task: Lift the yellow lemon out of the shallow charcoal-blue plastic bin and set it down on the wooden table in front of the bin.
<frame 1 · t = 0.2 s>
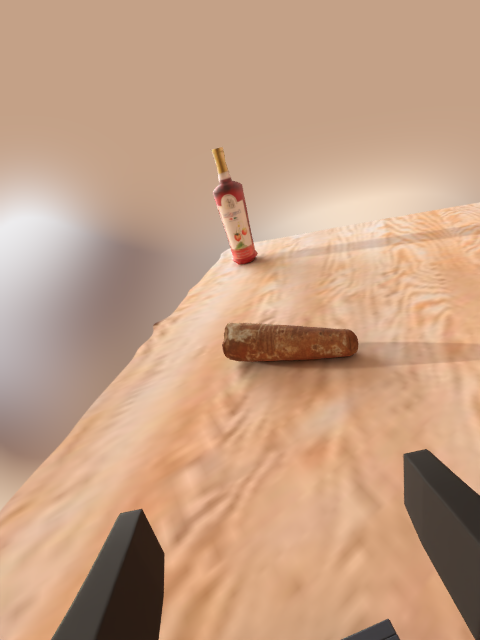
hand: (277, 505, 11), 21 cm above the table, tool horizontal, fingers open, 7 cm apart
liquor: (246, 261, 101), on the table
brown cylinder: (292, 355, 56), on the table
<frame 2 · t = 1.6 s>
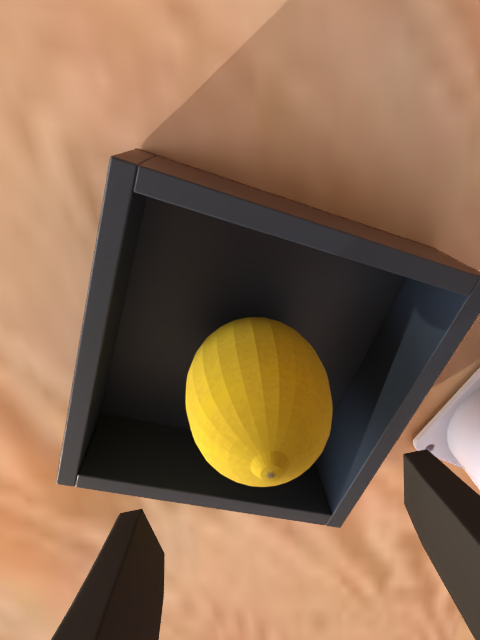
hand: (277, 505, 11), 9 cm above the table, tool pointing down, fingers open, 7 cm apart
bin: (246, 338, 19), on the table
lemon: (247, 340, 19), resting on bin
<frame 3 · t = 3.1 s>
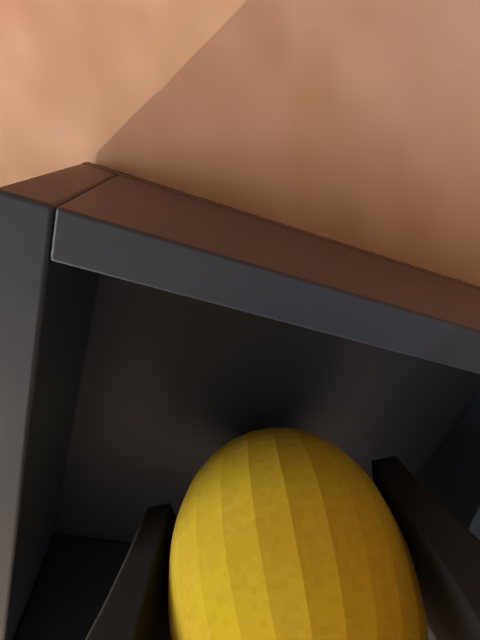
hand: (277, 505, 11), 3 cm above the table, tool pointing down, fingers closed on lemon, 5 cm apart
bin: (263, 433, 13), on the table
lemon: (264, 437, 13), resting on bin, touching gripper
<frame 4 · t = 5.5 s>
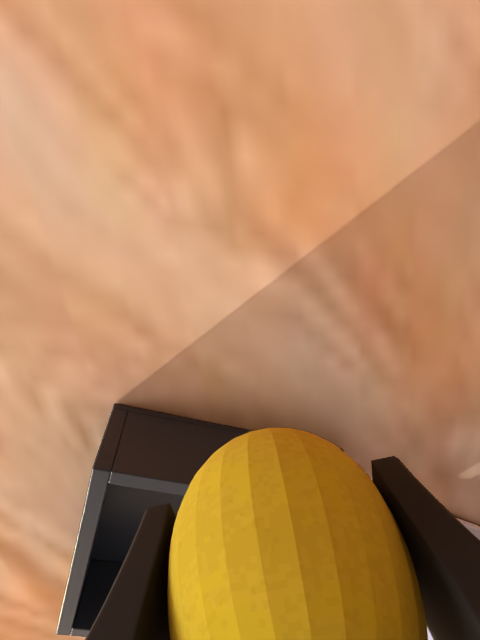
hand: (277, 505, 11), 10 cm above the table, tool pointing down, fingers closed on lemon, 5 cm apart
bin: (203, 506, 25), on the table
lemon: (263, 437, 13), point 7 cm above the table, touching gripper
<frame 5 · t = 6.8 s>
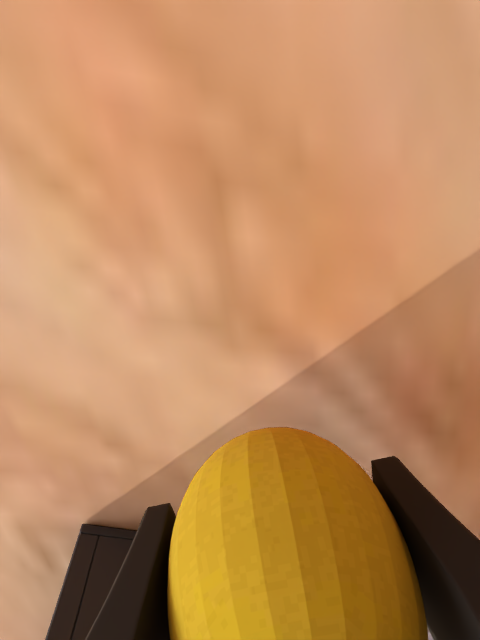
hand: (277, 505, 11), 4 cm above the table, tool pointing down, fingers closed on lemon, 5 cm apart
bin: (196, 623, 20), on the table
lemon: (263, 437, 13), point 1 cm above the table, touching gripper
when the fingers open (2 cm above the table, at t = 7.9 s): lemon stays where it is, on the table.
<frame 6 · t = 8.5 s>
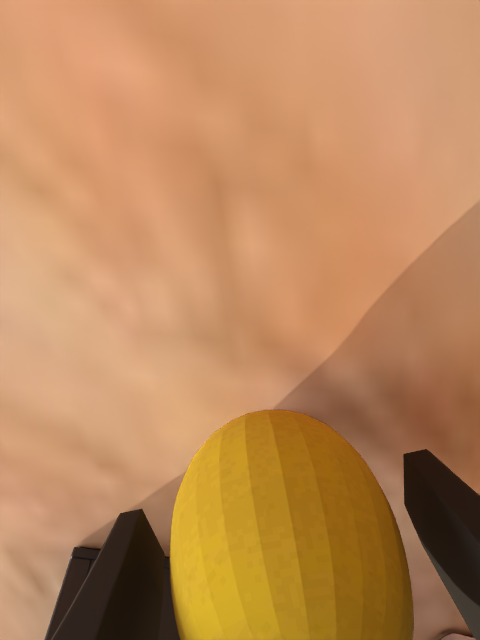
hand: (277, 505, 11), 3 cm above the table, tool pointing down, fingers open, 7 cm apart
lemon: (261, 422, 13), on the table
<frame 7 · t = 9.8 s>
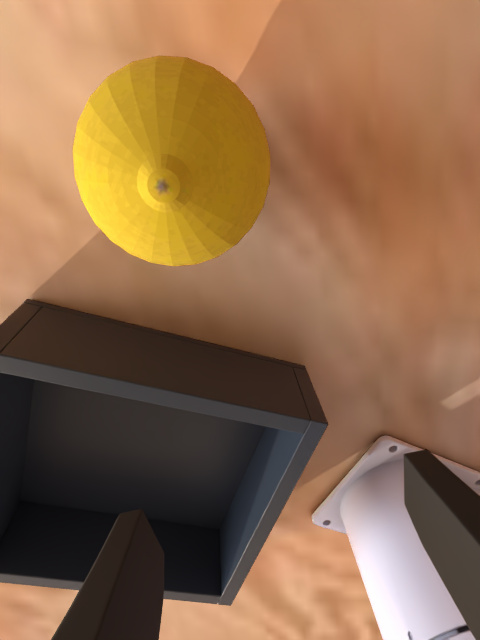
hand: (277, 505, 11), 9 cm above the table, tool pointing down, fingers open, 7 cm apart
bin: (146, 437, 21), on the table
lemon: (185, 158, 15), on the table
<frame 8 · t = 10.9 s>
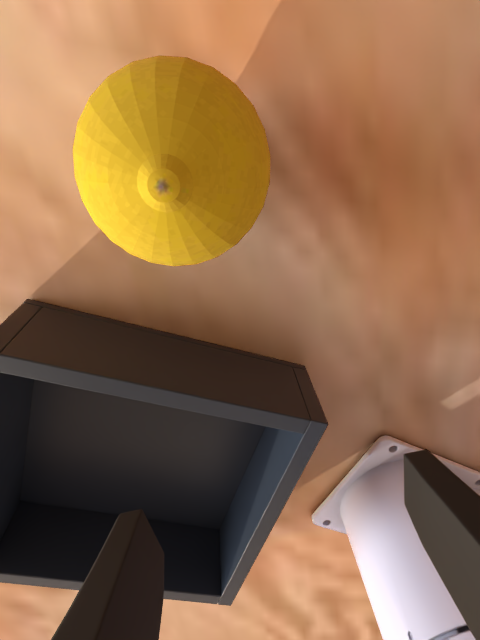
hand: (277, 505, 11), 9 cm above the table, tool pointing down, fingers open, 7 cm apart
bin: (146, 437, 21), on the table
lemon: (185, 158, 15), on the table
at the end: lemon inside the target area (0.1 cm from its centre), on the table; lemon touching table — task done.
